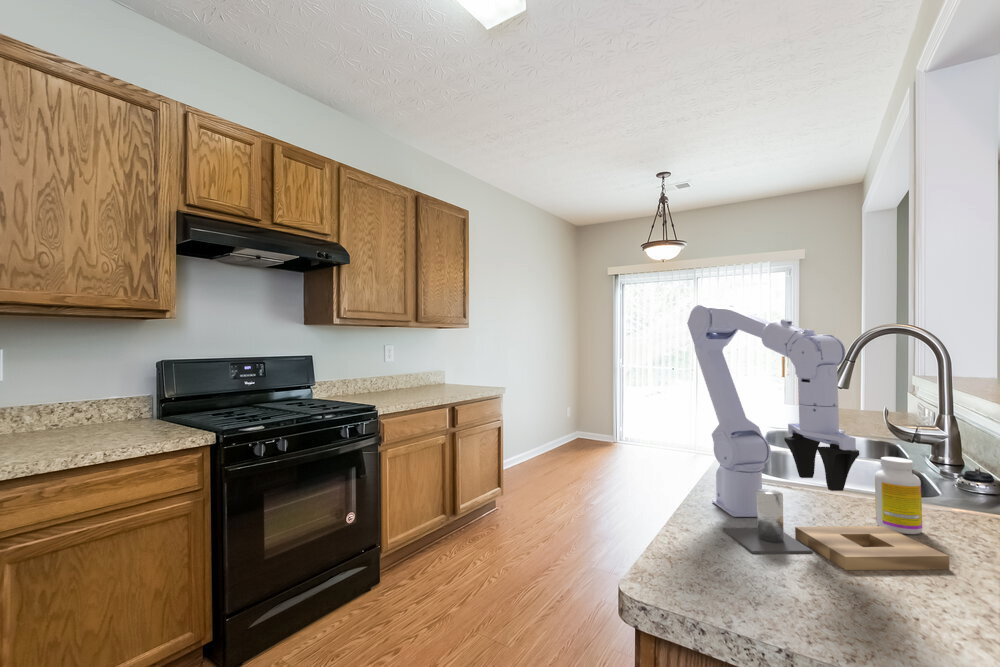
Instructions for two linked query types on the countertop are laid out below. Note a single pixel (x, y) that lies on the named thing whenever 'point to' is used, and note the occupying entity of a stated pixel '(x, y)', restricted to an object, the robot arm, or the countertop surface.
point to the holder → (871, 548)
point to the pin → (770, 516)
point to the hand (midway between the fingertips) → (820, 483)
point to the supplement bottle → (898, 496)
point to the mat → (756, 545)
